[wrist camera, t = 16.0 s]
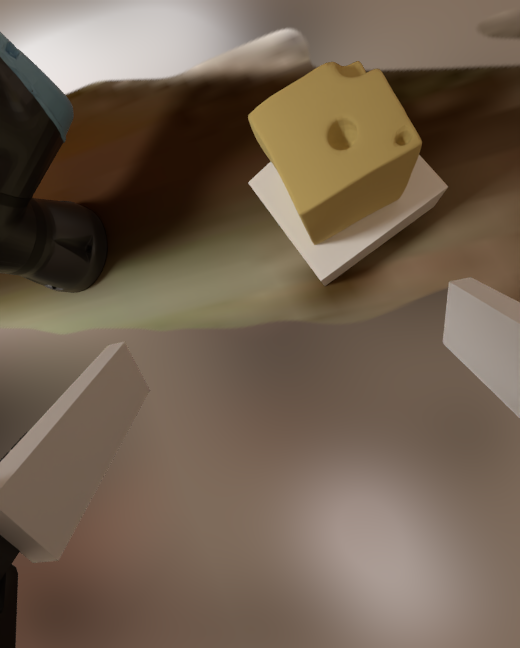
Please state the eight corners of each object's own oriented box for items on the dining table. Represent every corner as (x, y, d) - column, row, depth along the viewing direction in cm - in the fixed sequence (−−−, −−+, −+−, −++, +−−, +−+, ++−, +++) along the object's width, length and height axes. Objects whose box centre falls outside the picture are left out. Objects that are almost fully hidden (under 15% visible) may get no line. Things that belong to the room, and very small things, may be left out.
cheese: (359, 116, 30) (363, 21, 20) (406, 203, 29) (433, 145, 19) (274, 172, 33) (242, 112, 23) (312, 253, 32) (296, 224, 22)
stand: (260, 199, 39) (247, 182, 34) (354, 116, 35) (355, 83, 30) (324, 286, 36) (320, 281, 31) (434, 206, 32) (448, 186, 28)
